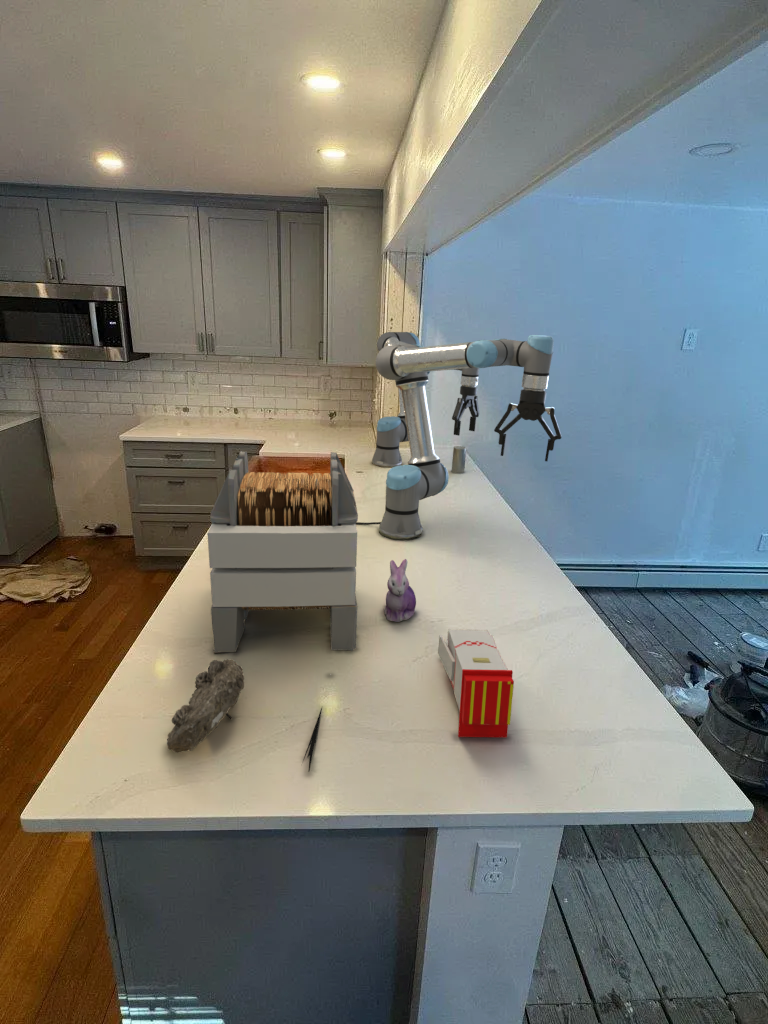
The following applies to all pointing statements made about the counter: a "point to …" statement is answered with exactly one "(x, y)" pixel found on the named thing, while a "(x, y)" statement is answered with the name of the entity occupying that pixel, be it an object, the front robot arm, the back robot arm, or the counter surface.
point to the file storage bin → (283, 549)
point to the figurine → (399, 594)
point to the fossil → (206, 705)
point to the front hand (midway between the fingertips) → (523, 457)
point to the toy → (478, 682)
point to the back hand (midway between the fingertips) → (464, 433)
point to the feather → (313, 740)
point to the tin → (458, 459)
